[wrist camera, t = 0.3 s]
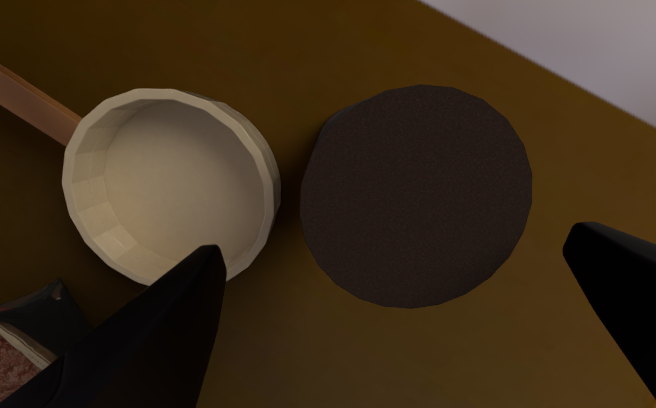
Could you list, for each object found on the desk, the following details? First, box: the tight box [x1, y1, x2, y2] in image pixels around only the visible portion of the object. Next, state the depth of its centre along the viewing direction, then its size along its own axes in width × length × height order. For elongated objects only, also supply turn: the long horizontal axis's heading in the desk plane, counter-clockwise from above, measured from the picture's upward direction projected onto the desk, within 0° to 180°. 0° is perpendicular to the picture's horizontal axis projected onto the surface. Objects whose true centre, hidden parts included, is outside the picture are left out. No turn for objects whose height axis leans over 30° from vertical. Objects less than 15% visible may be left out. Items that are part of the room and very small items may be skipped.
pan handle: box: [0, 64, 83, 147], centre depth 18 cm, size 2×10×1 cm, turn 53°
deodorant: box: [299, 85, 532, 309], centre depth 15 cm, size 6×6×15 cm
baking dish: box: [0, 278, 91, 402], centre depth 24 cm, size 14×18×10 cm
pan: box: [62, 89, 281, 286], centre depth 21 cm, size 13×13×4 cm
